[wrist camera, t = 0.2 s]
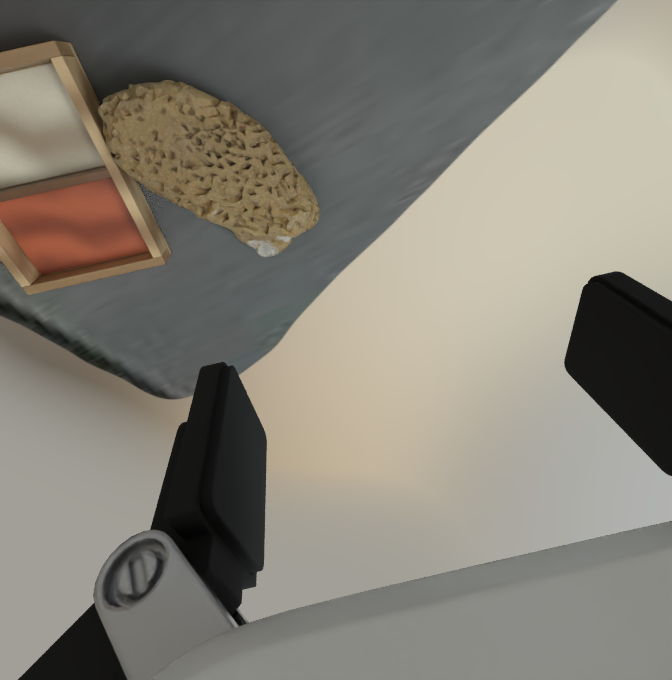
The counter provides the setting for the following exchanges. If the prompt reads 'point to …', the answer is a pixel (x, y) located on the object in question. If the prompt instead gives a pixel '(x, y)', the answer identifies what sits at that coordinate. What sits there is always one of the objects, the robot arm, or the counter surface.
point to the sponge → (209, 162)
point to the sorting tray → (64, 179)
